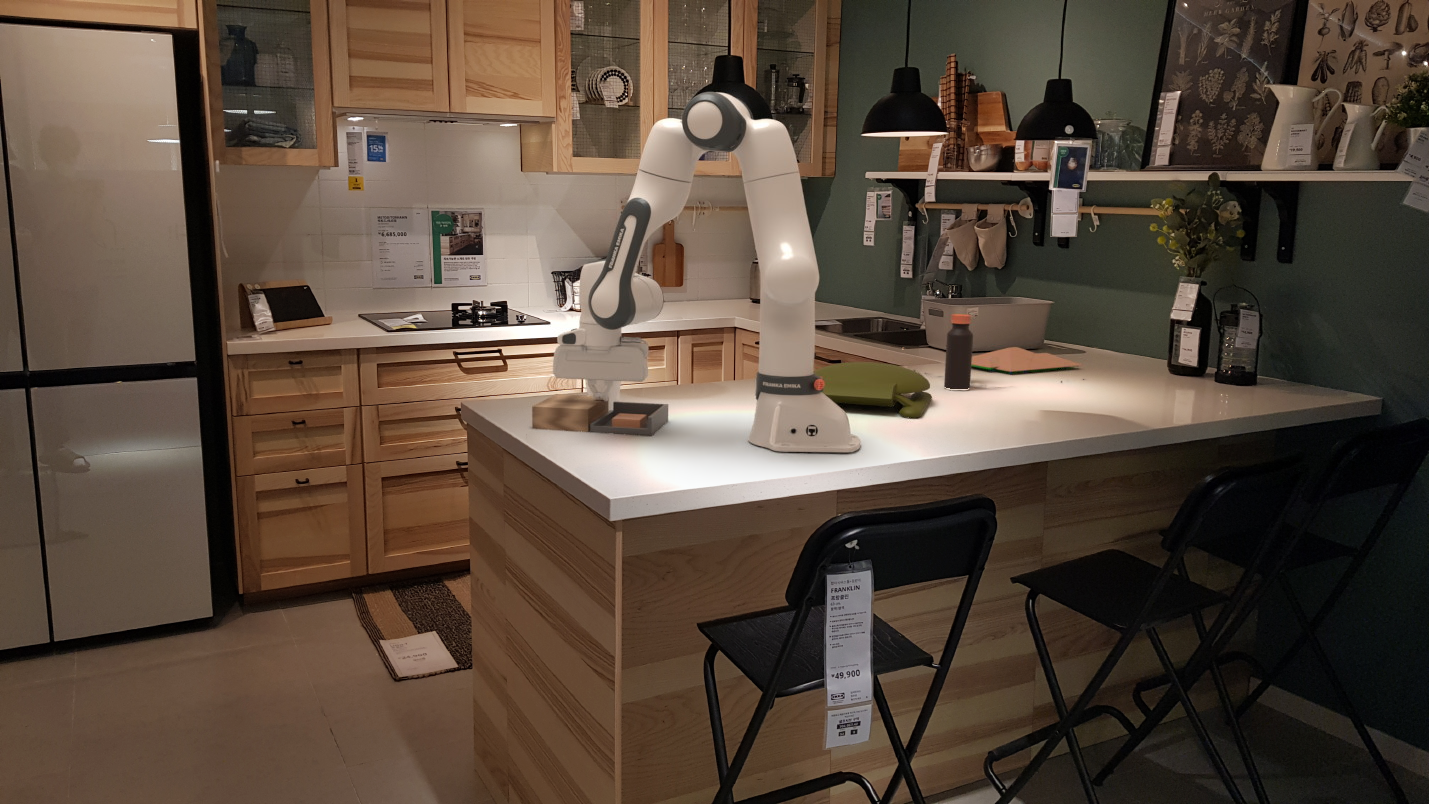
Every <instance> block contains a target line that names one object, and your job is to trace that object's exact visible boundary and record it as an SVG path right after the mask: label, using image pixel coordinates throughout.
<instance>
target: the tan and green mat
mask: <svg viewBox="0 0 1429 804" xmlns="http://www.w3.org/2000/svg"><path fill="white" fill-rule="evenodd" d="M1080 366H1083V364H1081V363H1078V362H1075V361H1072V360H1069V359H1066V358H1062V357H1060V356H1057V355H1055V354H1051V353H1049V352H1041V353H1040V352H1038V353H1035V352H1033V351H1030V350H1027V349H1024V348H1020V347H1018V346H1013V347H1012V346H1011V347H1006V348H1002V349H998V350H997V349H996V350H993V351H990V352H986V353H982V354H978V355H977V354H976V355H972V362H971V367H973V368H975V369H976V368H977V370H980V371H983V370H984V372H985V371H986V372H990V373H993V370H995V372H998V373H1000V374H1001V373H1002V374H1003V373H1004V374H1006V372H1009V375H1010V376H1012V373H1018V372H1023V374H1024V373H1025V374H1026V371H1033V373H1034V372H1035V373H1036V372H1037V373H1038V372H1040V371H1041V372H1042V371H1043V372H1046V370H1049V369H1054V371H1055V370H1056V371H1057V369H1058V368H1059V369H1060V368H1061V369H1063V368H1064V369H1065V368H1066V369H1069V368H1071V367H1073V368H1074V367H1080ZM985 369H986V370H985ZM1059 369H1058V370H1059ZM1061 369H1060V370H1061ZM987 370H988V371H987Z"/></svg>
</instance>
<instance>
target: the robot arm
mask: <svg viewBox="0 0 1429 804" xmlns="http://www.w3.org/2000/svg"><path fill="white" fill-rule="evenodd" d="M651 127H652V128H651V130H650V132H649V134H648V137H647V139H646V142H645V144H644V148H643V150H642V153H641V157H640V161H639V165H638V169H637V173H636V176H635V181H634V185H633V187H632V190H631V192H630V196H629V198H628V200H627V202H626V204H625V205H624V207H623V210H622V212H621V213H620V216H619V219H618V221H617V225H616V228H615V230H614V234H613V237H612V239H611V243H610V246H609V248H608V252H607V255H606V258H604V259H603V258H601V259H595V260H591V261H588V262H586V263H584V264H583V266H582V268H581V272H580V277H579V287H578V289H579V290H578V291H579V292H578V293H579V294H578V296H579V297H578V302H579V305H580V310H581V311H580V316H579V324H578V325H579V327H578V328H572V329H570V330H568V331H566V332H562V333H560V334H558V335H557V338H556V339H557V340H556V341H557V344H558V345H557V347H556V348H555V350H554V353H553V358H552V373H553V376H554V377H555V378H556V379H561V380H562V379H563V380H564V379H567V380H585V381H586V380H588V386H589V388H590V390H591V391H592V393H593V401H608V392H609V391H610V389H611V388H612V386H613V381H621V382H634V383H636V382H637V383H639V382H640V383H642V382H644V381H645V380H646V379H647V378H648V377H649V368H648V367H649V366H648V356H649V350H650V349H649V347H650V346H649V344H648V342H647V341H646V340H644V339H643V338H641V337H629V336H628V337H627V336H622V328H625V327H627V326H630V325H637V324H640V323H641V324H642V323H646V322H649V321H652V320H653V319H655V318H657V317H658V316H659V315H660V314H661V312H662V310H663V308H664V303H665V301H664V300H665V299H664V298H665V297H664V293H663V289H662V288H661V285H660V284H659V282H657V281H656V280H655V279H653V278H652V277H648V276H645V275H642V274H639V273H637V269H638V265H639V262H640V258H641V256H642V253H643V249H644V246H645V244H646V243H647V241H648V239H649V238H650V237H651V235H652V234H654V232H656V230H657V229H659V228H660V227H662V226H663V225H665V224H666V223H668V222H670V221H671V220H674V219H675V218H677V216H679V215H680V214H681V213H682V211H684V210H683V209H684V208H685V205H686V203H687V201H688V198H689V196H690V192H691V189H692V184H693V179H694V176H695V175H694V174H695V170H696V167H697V164H698V161H699V159H700V158H701V157H702V156H703V155H704V154H706V153H732V154H733V155H734V156H735V157H736V159H737V162H738V163H739V167H740V172H741V177H742V183H743V188H744V193H745V198H746V203H747V204H746V205H747V210H748V215H749V220H750V221H749V222H750V226H751V230H752V236H753V240H754V246H755V251H756V256H757V262H758V268H759V272H760V296H759V297H760V301H759V303H760V305H759V347H758V349H759V351H758V371H757V373H756V377H755V383H754V384H755V385H754V386H755V387H754V388H755V391H754V392H755V393H754V395H755V399H756V406H755V413H754V418H753V422H752V423H753V424H752V428H751V432H750V435H749V437H748V442H750V443H751V444H753V445H755V446H759V447H762V448H766V449H769V450H771V451H774V452H791V453H792V452H795V453H797V452H800V453H801V452H802V453H804V452H805V453H808V452H809V453H810V452H811V453H852V452H856V451H858V450H859V449H860V448H861V438H860V437H858V435H856V434H851V427H850V420H849V417H848V414H847V413H846V411H845V410H844V409H843V408H841V407H840V406H839V405H838V403H834V402H833V401H832V400H831V399H829V398H828V397H827V396H826V395H825V394H823V393H822V392H823V388H824V385H825V383H824V379H823V378H822V377H820V376H818V375H816V374H815V373H814V371H815V351H816V350H815V349H816V348H815V344H816V308H815V307H816V304H815V303H816V302H815V301H816V299H815V298H816V292H817V289H818V286H819V284H820V283H819V282H820V273H819V267H818V262H817V256H816V253H815V247H814V246H815V245H814V241H813V237H812V236H813V235H812V232H811V227H810V222H809V218H808V214H807V207H806V204H805V203H806V202H805V198H804V197H805V196H804V192H803V186H802V185H803V184H802V180H801V175H800V169H799V165H798V161H797V159H798V158H797V155H796V152H795V148H794V145H793V143H792V140H791V137H790V134H789V132H788V129H787V128H786V126H785V124H784V123H782V122H780V121H778V120H776V119H771V118H761V119H754V116H753V113H752V111H751V109H750V107H749V106H748V105H747V104H746V102H744V101H742V100H741V99H740V98H737V97H734V96H733V95H731V94H729V93H725V92H717V91H716V92H714V91H705V92H701V93H699V94H697V95H695V96H694V97H692V98H691V99H690V100H689V102H688V103H687V104H686V105H685V107H684V108H683V113H682V116H681V119H680V118H672V117H667V118H664V119H660V120H658V121H656V122H655V123H654V124H653V126H651ZM597 380H605V385H606V386H607V387H606V389H605V391H604V392H598V390H597V388H596V386H595V384H596V383H597Z"/></svg>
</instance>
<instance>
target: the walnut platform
mask: <svg viewBox="0 0 1429 804" xmlns="http://www.w3.org/2000/svg"><path fill="white" fill-rule="evenodd" d="M607 412H609V397H608V401H593V396H588V395H582V394H580V395H579V394H561V393H555V394H553V395H552V396H550V397H548V398H545V399H544V400H541V401H540V402H538V403H536V404H534V405H533V406H532V407H531V418H532V422H531V423H532V424H531V426H532V430H533V429H534V430H536V429H537V430H548V429H549V430H552V431H563V430H564V431H566V432H567V431H568V432H578V431H580V433H581V431H582V433H589V432H590V424H591V423H592V422H594V421H595V420H597V419H598V418H600V417H601V416H603V415H604V414H606V413H607ZM549 430H548V431H549Z"/></svg>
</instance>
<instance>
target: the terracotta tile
mask: <svg viewBox="0 0 1429 804" xmlns="http://www.w3.org/2000/svg"><path fill="white" fill-rule="evenodd" d="M646 424H647V415H643V414H624V413H619V414H618V415H616V416H615V417H614V418H612V427H629V428H642V427H643V426H645V425H646Z"/></svg>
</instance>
